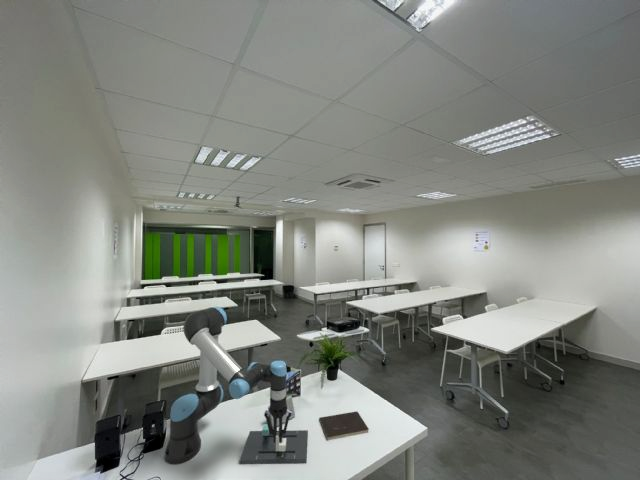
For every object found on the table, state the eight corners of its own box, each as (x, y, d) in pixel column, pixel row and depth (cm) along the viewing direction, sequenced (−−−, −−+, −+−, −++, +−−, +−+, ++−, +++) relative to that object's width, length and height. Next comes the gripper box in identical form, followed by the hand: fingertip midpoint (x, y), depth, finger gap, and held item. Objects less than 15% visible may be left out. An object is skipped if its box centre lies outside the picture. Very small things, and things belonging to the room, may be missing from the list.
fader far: (262, 438, 123) (262, 430, 124) (263, 432, 128) (263, 424, 128) (268, 438, 124) (268, 430, 124) (269, 432, 128) (269, 423, 128)
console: (239, 464, 111) (239, 459, 112) (250, 435, 129) (250, 430, 130) (306, 463, 112) (306, 458, 112) (307, 434, 130) (307, 430, 130)
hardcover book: (368, 433, 131) (368, 429, 131) (326, 441, 125) (326, 437, 126) (357, 414, 147) (357, 410, 147) (319, 421, 141) (319, 416, 141)
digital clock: (270, 431, 132) (271, 410, 133) (264, 421, 140) (265, 401, 141) (298, 420, 141) (298, 400, 142) (291, 411, 149) (291, 393, 149)
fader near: (278, 454, 114) (278, 445, 114) (280, 447, 118) (280, 438, 118) (285, 454, 114) (285, 445, 114) (286, 447, 118) (286, 438, 118)
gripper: (262, 401, 113) (261, 455, 112) (291, 401, 113) (291, 455, 112) (265, 392, 121) (265, 443, 120) (292, 392, 121) (292, 442, 120)
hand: (277, 448), depth 116 cm, fingers closed
